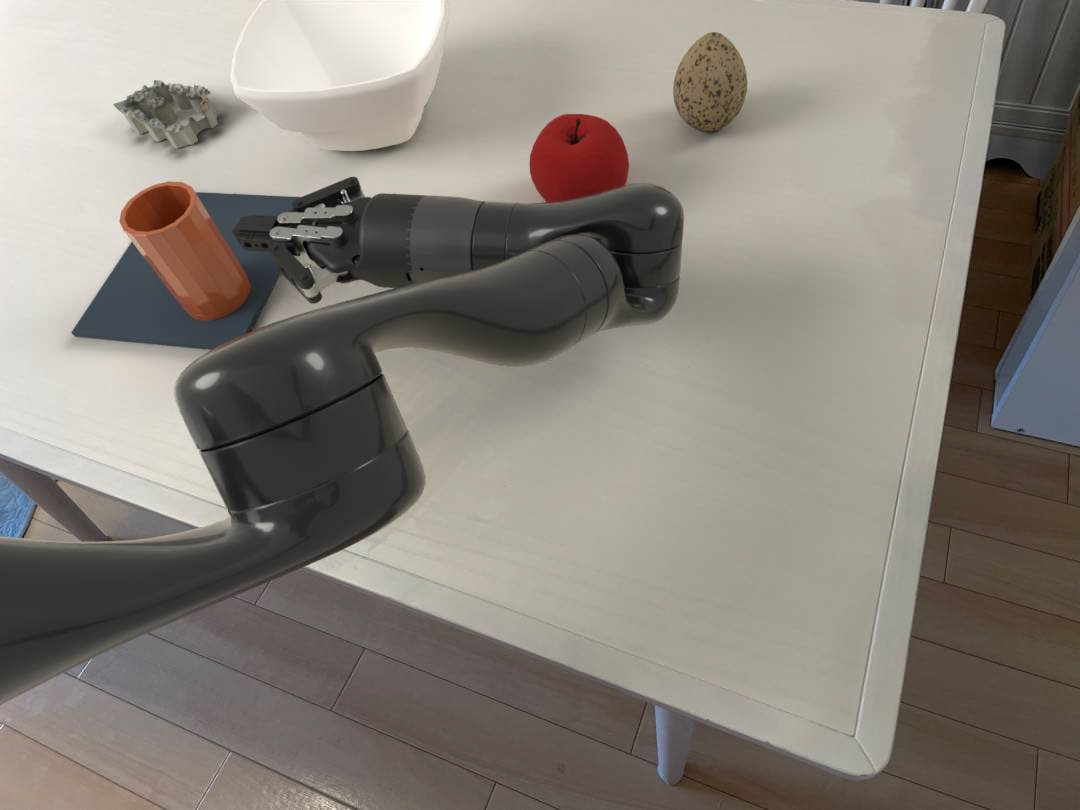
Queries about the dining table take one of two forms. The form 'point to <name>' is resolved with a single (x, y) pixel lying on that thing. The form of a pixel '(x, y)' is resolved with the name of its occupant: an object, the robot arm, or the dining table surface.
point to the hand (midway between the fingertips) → (239, 232)
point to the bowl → (342, 67)
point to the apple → (577, 158)
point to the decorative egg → (710, 83)
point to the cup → (186, 250)
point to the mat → (153, 312)
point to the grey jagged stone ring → (170, 112)
